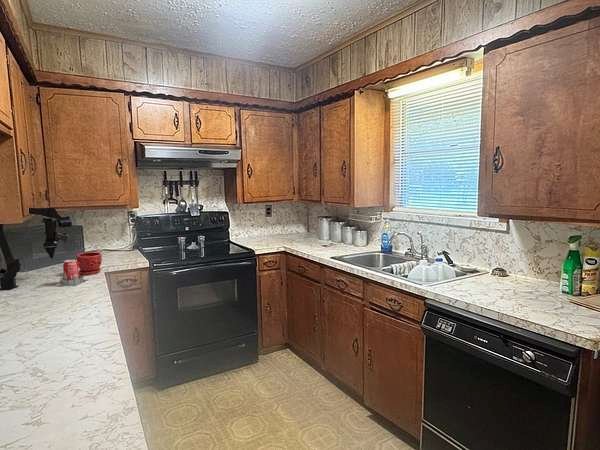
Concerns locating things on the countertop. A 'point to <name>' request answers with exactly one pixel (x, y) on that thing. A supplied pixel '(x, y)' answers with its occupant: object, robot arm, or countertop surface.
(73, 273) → the soda can
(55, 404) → the countertop surface
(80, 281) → the duct collar
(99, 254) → the plant pot
